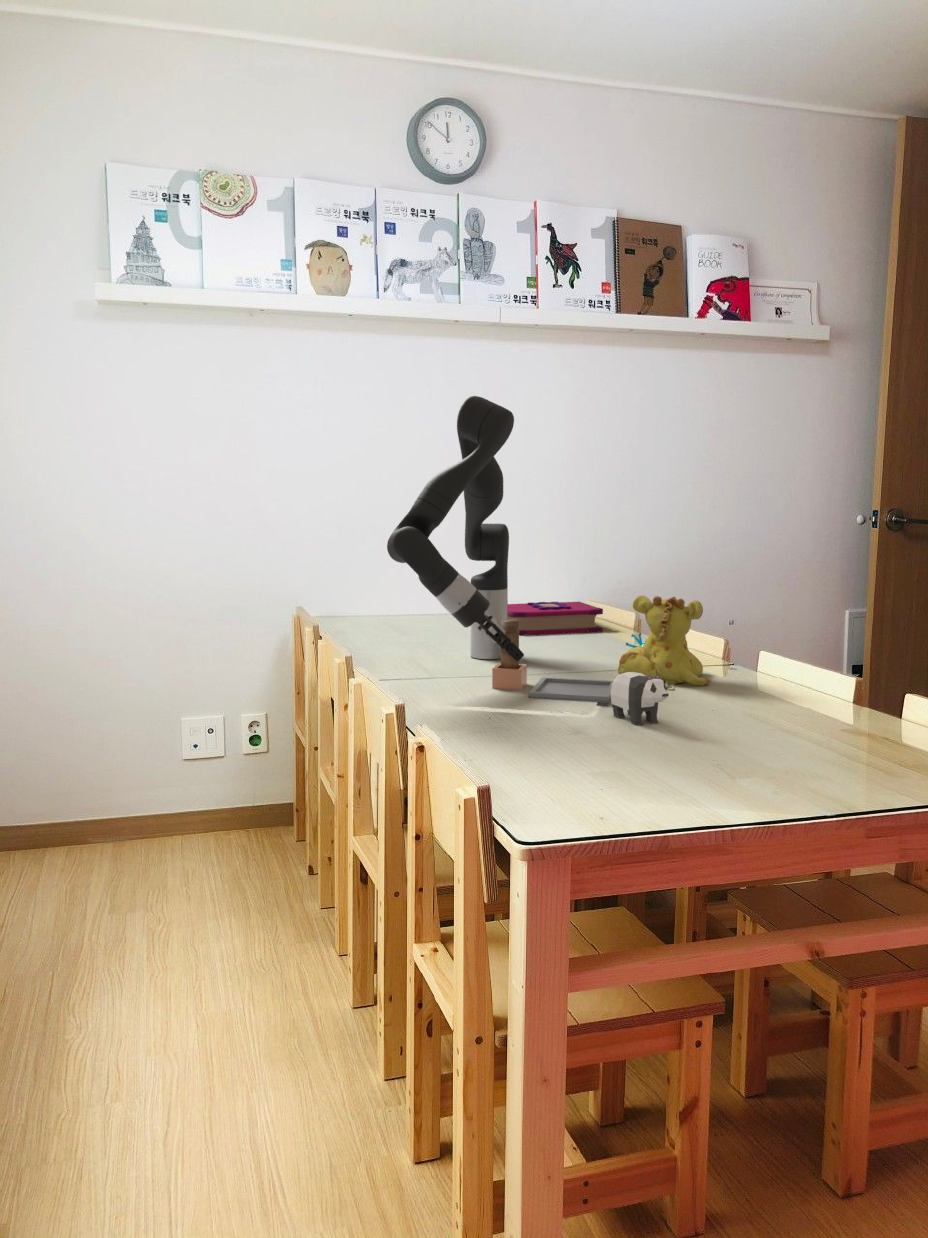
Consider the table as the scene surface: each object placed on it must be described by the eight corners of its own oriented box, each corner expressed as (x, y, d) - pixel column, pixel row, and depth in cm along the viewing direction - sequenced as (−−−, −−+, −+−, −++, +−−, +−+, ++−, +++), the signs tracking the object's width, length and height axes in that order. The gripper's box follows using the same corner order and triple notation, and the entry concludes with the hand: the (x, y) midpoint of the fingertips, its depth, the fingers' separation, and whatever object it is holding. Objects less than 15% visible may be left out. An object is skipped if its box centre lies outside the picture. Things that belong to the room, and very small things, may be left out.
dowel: (502, 683, 218) (503, 619, 216) (520, 684, 217) (520, 619, 215) (499, 687, 215) (499, 621, 213) (516, 688, 214) (517, 622, 212)
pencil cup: (498, 685, 220) (498, 663, 219) (526, 687, 218) (526, 664, 217) (492, 691, 214) (492, 668, 213) (521, 693, 212) (521, 669, 212)
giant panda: (607, 715, 194) (608, 665, 192) (631, 712, 196) (632, 663, 195) (652, 732, 180) (653, 680, 179) (677, 729, 183) (679, 677, 181)
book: (491, 626, 307) (491, 601, 306) (577, 623, 315) (577, 598, 314) (512, 637, 287) (512, 610, 286) (604, 633, 295) (604, 607, 293)
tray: (542, 685, 220) (542, 677, 220) (616, 689, 216) (616, 681, 216) (528, 701, 205) (528, 692, 205) (608, 705, 201) (608, 696, 201)
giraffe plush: (694, 669, 239) (697, 588, 237) (724, 690, 216) (728, 601, 213) (608, 669, 238) (610, 588, 236) (629, 691, 215) (631, 601, 212)
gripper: (446, 608, 219) (502, 662, 222) (452, 617, 205) (511, 675, 208) (471, 583, 219) (526, 638, 222) (478, 591, 205) (537, 649, 208)
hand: (518, 655), depth 215 cm, fingers open, 4 cm apart
